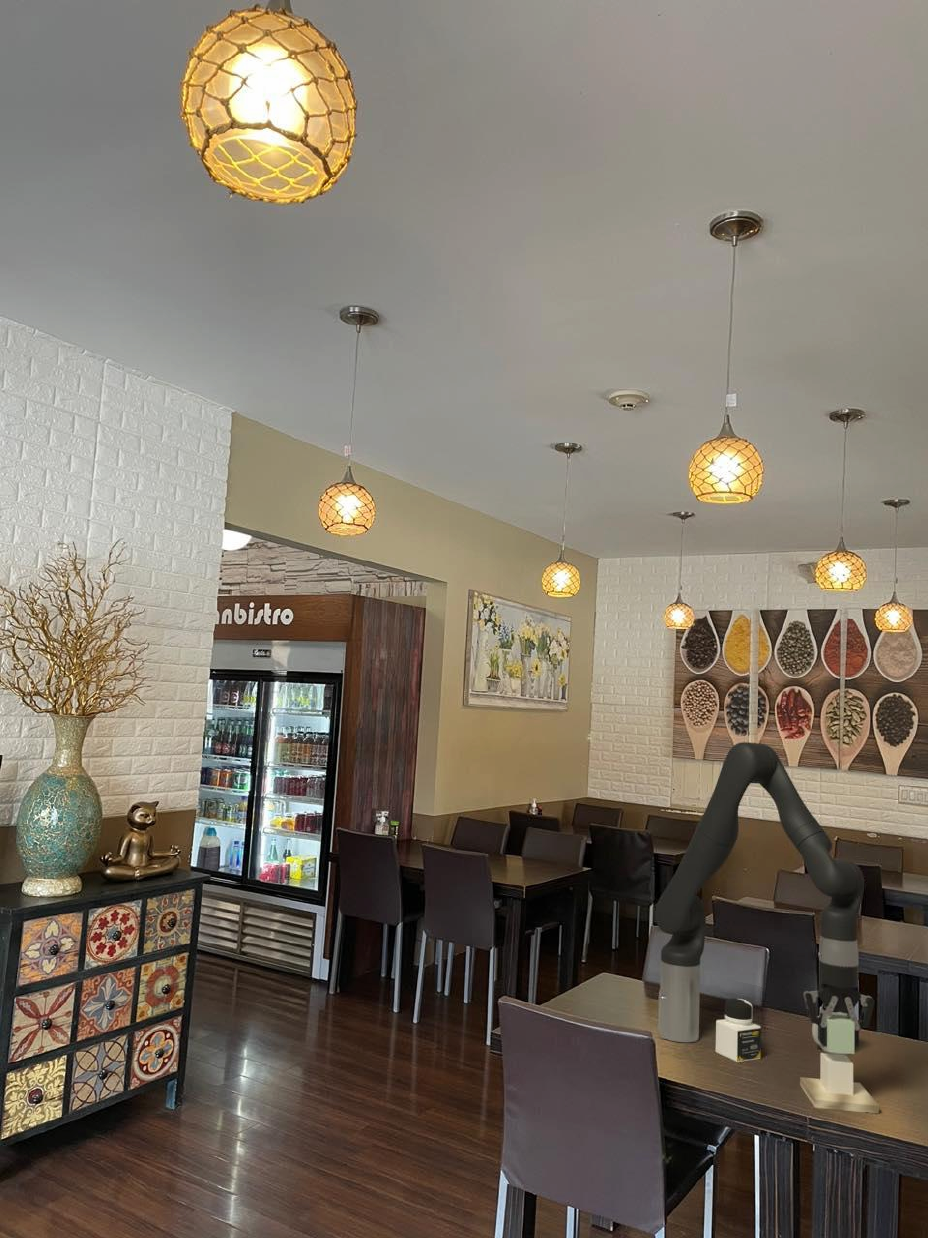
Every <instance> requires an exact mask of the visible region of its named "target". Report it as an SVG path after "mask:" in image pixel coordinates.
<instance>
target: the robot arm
mask: <svg viewBox="0 0 928 1238" xmlns="http://www.w3.org/2000/svg"><path fill="white" fill-rule="evenodd" d="M751 784H754V785H755V784H757V785H760V786H761V787H762V788H763V789H764V790H765V791H766V792H767V794H768V795H769V796H770V797H771V798H772V800H773V801H774V803H775V806H776V808H777V811H778V812H777V813H778V816H779V821H780V824H781V827H782V829H783V832H784V833H785V835H786V836H787V838H788V839H789V840H790V842H791V843H792V844H793V846H794V848H795V849H796V850H797V851H798V853H799V854H800V855H801V857H802V860H803V864H804V865H805V868H806V870H807V873H808V876H809V878H810V880H811V883H812V884H813V885H814V887H815V888H817V890H818V891H819V892H820V893H822V894H823V895H825V896H828V897H830V898H831V900H830V903H829V904H828V905H827V906H826V907H824V908H822V910H821V912H820V933H819V935H820V938H819V946H818V985H817V988H816V990H811V991H808V990H807V989H804V990H803V992H802V995H803V1000H804V1004H805V1009H806V1013H807V1018H808V1019H809V1020H810V1022H811V1023H812V1024H813V1023H814V1024H817V1025H818V1040H819V1042H820V1043H821V1044H822V1046H823V1047H827V1028H826V1026H827V1019H829V1018H830V1017H831V1015H832V1013H833V1012H835V1013H836V1012H842V1013H846V1015H847V1017H848V1018H850V1020H851V1021H853V1022H854V1050H856V1049H857V1047H859V1045H860V1030H861V1029H869V1027H870V1025H871V1024H870V1023H871V1019H872V1016H873V1011H874V1007H875V1003H876V1001H875V999H874V998H873V997H872V996H870V995H864V994H862V993H861V992H860V990H859V946H858V922H857V921H858V916H859V912H860V909H861V904H862V901H863V897H864V891H865V879H864V874H863V872H862V870H861V868H860V866H859V865H858V864H857V863H855V862H853V861H850V860H834V859H833V858H832V856H831V853H830V852H831V851H832V848H833V842H832V840H831V838H830V836H828V833H826V831H825V829H823V827H822V826H821V825H820V823H819V822H818V820H817V819H816V818H815V817H814V815H813V814H812V812H811V811H810V810H809V808H808V807H807V805H806V804H805V802H804V801H803V799H802V797H801V795H800V793H799V792H798V791H797V788H796V787H795V785H794V783H793V781H792V779H791V778H790V775H789V774H788V772H787V769H786V768H785V766H784V765H783V763H782V760H781V758H780V757H779V755H778V754H777V753H776V751H775V750H774V748H772V746H769V745H767V744H764V743H759V742H747V741H746V742H745V741H743V742H737V743H736V744H734V745H733V746H732V747H731V748H730V749H729V750H728V752H727V755H726V756H725V758H724V761H723V764H722V766H721V770H720V772H719V776H718V779H717V782H716V784H715V787H714V790H713V792H712V795H711V797H710V799H709V801H708V803H707V806H706V808H705V810H704V813H703V814H702V816H701V819H700V820H699V822H698V825H697V827H696V828H695V831H694V833H693V835H692V837H691V840H690V841H689V844H688V847H687V848H686V850H685V853H684V854H683V856H682V859H681V861H680V863H679V865H678V867H677V869H676V871H675V872H674V875H673V876H672V878H671V880H670V881H669V883H668V885H667V886H666V887H665V889H664V891H663V892H662V894H661V896H660V897H659V899H658V901H657V904H656V906H655V912H654V913H655V922H656V925H657V926H658V928H659V929H660V930H661V932H663V933H666V934H669V935H671V938H670V939H669V941H668V942H667V943H666V944H665V945H664V946H662V948H661V952H660V977H659V978H660V986H659V991H658V1014H657V1016H658V1018H657V1019H658V1021H657V1031H658V1035H659V1038H660V1039H662V1040H663V1039H664V1040H668V1041H672V1042H678V1043H694V1042H697V1041H698V1040H699V1036H700V1035H699V1033H700V1028H699V1027H700V1026H699V1025H700V987H701V985H700V984H701V983H700V981H701V957H702V955H703V953H704V949H705V938H706V927H707V926H706V925H707V923H706V922H707V921H706V920H707V919H706V917H707V916H706V915H707V914H706V908H705V906H704V903H703V901H702V899H701V898H700V897H699V896H698V893H699V892H700V890H701V889H702V888H703V887H704V885H706V883H708V881H709V880H710V879H711V878H712V877H713V876H714V875H716V874H717V872H718V871H720V869H721V868H722V867H723V866H724V864H725V863H726V862H727V860H728V859H729V857H730V855H731V853H732V852H733V849H734V846H735V844H736V842H737V840H738V836H739V807H740V804H741V801H742V800H743V797H744V796H745V793H746V791H747V789H748V788H749V786H750V785H751ZM817 998H819V999H820V1001H821V1003H822V1004H821V1006H822V1007H821V1006H820V1007H821V1010H820V1009H819V1015H818V1016H819V1017H817V1012H816V1009H815V1004H814V1003H816V1002H817ZM859 1001H860V1004H861V1005H862V1009H861V1012H860V1017H859V1019H858V1016H857V1014H856V1010H855V1007H856V1005H857V1004H858V1003H859Z"/></svg>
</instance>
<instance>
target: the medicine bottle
mask: <svg viewBox="0 0 928 1238" xmlns="http://www.w3.org/2000/svg"><path fill="white" fill-rule="evenodd" d="M753 1008H754V1007H753V1004H752V1003H751V1002H749V1001H748V1000H745V999H742V998H729V999H727V1000H726V1001H725V1002H724V1019H717V1020H716V1022H715V1052H716V1053H717V1054H719V1055H721V1056H723V1057H725V1058H727V1059H729V1060H730V1061H733V1062H736V1063H743V1062H749V1061H750V1062H751V1061H755V1060H760V1059H761V1058H762V1057H761V1055H762V1054H761V1052H762V1051H761V1048H762V1047H761V1046H762V1027H761V1026H760V1025H758V1024H756V1023H753Z"/></svg>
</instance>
